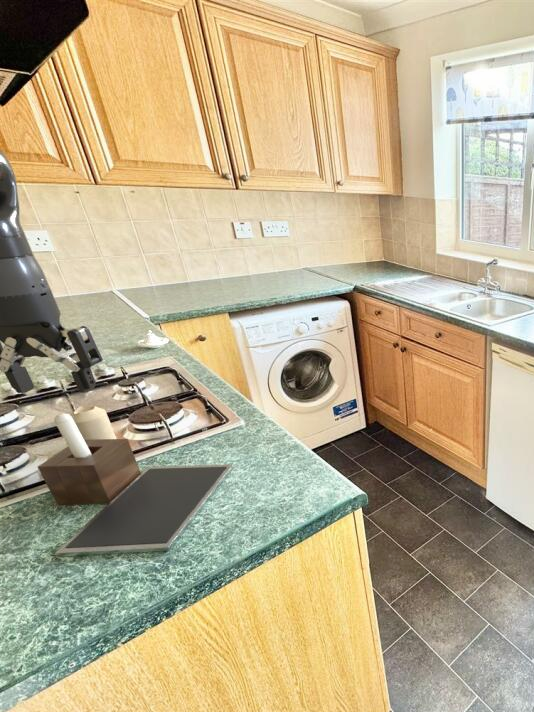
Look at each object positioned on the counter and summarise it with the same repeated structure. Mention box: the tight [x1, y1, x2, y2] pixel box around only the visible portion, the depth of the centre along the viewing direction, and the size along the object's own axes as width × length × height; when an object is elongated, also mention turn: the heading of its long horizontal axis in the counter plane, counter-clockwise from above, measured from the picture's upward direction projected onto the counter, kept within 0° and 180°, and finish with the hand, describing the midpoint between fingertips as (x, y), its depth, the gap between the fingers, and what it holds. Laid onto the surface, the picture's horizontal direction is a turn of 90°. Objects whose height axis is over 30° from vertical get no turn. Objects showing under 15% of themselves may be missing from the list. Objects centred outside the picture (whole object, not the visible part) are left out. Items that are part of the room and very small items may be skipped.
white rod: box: [53, 413, 92, 458], centre depth 70 cm, size 2×2×16 cm
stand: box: [37, 438, 142, 507], centre depth 73 cm, size 8×8×8 cm
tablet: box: [54, 463, 235, 558], centre depth 71 cm, size 15×21×1 cm
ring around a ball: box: [136, 330, 169, 349], centre depth 134 cm, size 8×6×8 cm
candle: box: [69, 404, 118, 440], centre depth 82 cm, size 6×6×10 cm
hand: (57, 390), depth 66 cm, fingers open, 8 cm apart
